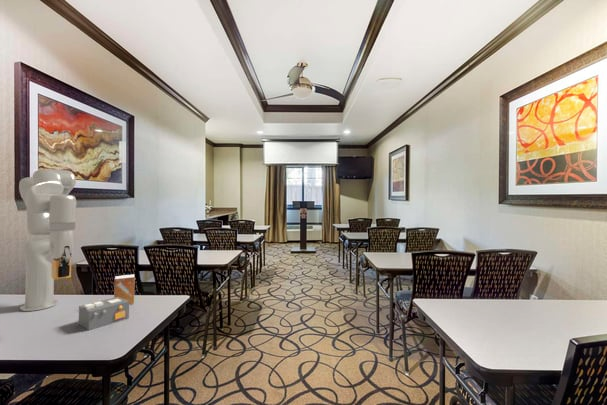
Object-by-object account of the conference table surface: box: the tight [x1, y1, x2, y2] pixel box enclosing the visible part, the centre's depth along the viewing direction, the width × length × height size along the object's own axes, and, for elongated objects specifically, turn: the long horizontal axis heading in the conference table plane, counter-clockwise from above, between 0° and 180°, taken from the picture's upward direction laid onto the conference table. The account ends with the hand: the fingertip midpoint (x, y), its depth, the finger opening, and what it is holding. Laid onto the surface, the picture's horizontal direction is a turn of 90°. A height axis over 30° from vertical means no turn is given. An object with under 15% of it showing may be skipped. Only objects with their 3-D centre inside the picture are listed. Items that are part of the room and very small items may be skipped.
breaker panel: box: [78, 297, 130, 331], centre depth 113 cm, size 11×14×8 cm
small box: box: [113, 274, 136, 305], centre depth 133 cm, size 8×6×13 cm
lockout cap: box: [51, 258, 72, 281], centre depth 105 cm, size 4×4×7 cm
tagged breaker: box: [107, 299, 122, 304], centre depth 116 cm, size 4×4×6 cm
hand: (61, 274), depth 105 cm, fingers closed on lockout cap, 4 cm apart
